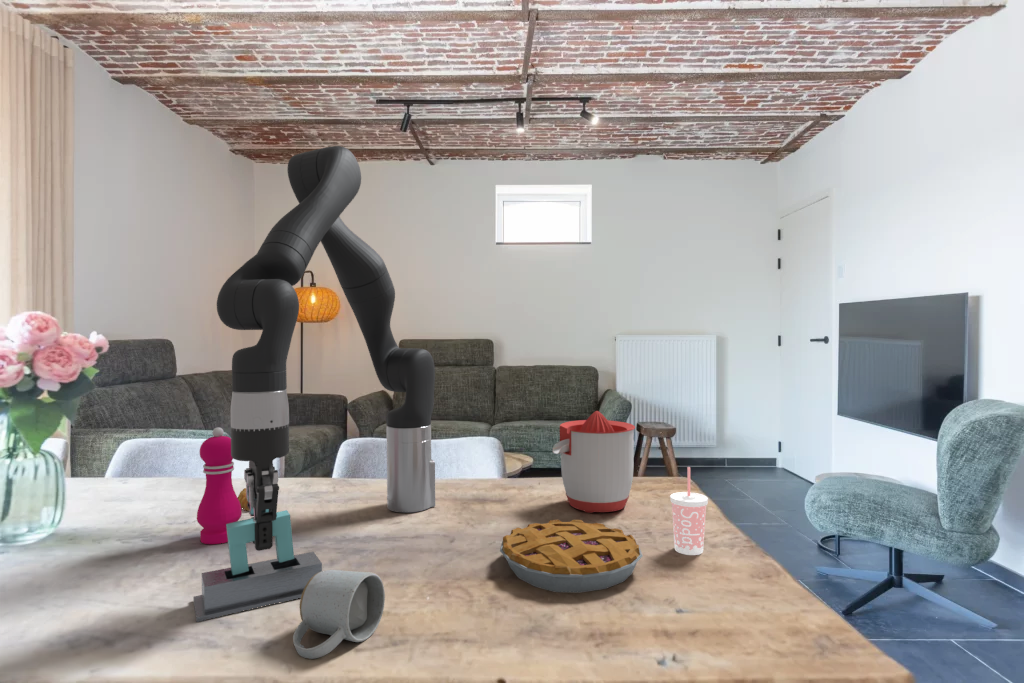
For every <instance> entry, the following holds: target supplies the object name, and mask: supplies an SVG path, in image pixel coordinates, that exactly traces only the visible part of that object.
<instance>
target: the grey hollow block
mask: <svg viewBox="0 0 1024 683" xmlns="http://www.w3.org/2000/svg"><path fill="white" fill-rule="evenodd" d="M248 568H249V571H247V572H243V573H240V574H236V575H233V574H232V571H231V567H227V568H226V567H225V568H222V569H216V570H211V571H206V572H201V594H200V595H194V596H192V597H193V599H192V600H193V606H194V607H193V608H194V613H195V615H194V616H195V621H196V623H199V622H200V623H201V622H204V621H207V620H206V619H209V620H211V619H210V618H213V619H216V618H215V617H217V618H220V617H219V616H222V615H226V616H228V615H227V614H231V613H235V614H237V613H236V612H239V613H241V612H240V611H243V610H248V611H250V610H249V609H252V608H257V607H261V606H265V605H269V604H274V603H279V602H283V603H285V602H284V601H288V602H290V601H289V600H292V601H294V600H293V599H296V600H299V599H298V598H301V596H302V593H303V590H304V588H305V586H306V584H307V583H308V581H309V580H310V579H311V578H312V577H313V576H314V575H315V574H317V573H319V572H321V571H323V562H322V561H321V560H320V559H319V557H318V556H317V554H316V553H315V552H314V551H309V552H305V553H299V554H294V559H291V560H288V561H284V562H280V563H279V561H278V559H277V558H274V559H268V560H262V561H258V562H257V561H256V562H253V563H248ZM279 604H280V603H279ZM274 605H275V604H274ZM261 608H262V607H261ZM257 609H258V608H257ZM252 610H253V609H252ZM231 615H232V614H231ZM222 617H223V616H222ZM203 620H204V621H203Z"/></svg>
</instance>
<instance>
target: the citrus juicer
mask: <svg viewBox="0 0 1024 683" xmlns="http://www.w3.org/2000/svg"><path fill="white" fill-rule="evenodd" d="M635 429H636V426H635V425H633V424H632V423H630V422H623V421H617V420H608V419H607V417H605V415H604V414H602V412H600V411H599V410H596V411H594V412H593V413H591V415H589V417H587V419H580V420H571V421H570V420H569V421H566V422H563V423H560V425H559V441H557V442H556V443H555V444H553V446H552V453H553V454H554V455H559V454H560V467H561V468H560V470H561V478H562V484H563V487H564V491H565V496H566V498H567V501H568V504H569V505H570V506H571V507H572V508H575V509H576V510H579V511H583V512H584V513H586V514H587V513H588V514H592V513H609V512H617V511H621V510H623V509H624V508H625V507H626V504H627V503H628V500H629V498H630V493H631V489H632V485H633V479H634V466H635V465H634V464H635V463H634V449H635V448H634V446H635V445H634V444H635V443H634V442H635V441H634V436H635V435H634V433H635V432H634V430H635Z"/></svg>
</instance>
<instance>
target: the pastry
mask: <svg viewBox="0 0 1024 683" xmlns="http://www.w3.org/2000/svg"><path fill="white" fill-rule="evenodd" d="M237 498H238V500H239V502H240V505H241V509H242V508H243V509H242V510H244V509H245V510H244V511H246V510H247V511H246V512H249V511H250V509H249V508H248V506H247V503H248V500H247V498H246V487H245V488H242V490H240V492H239V494H238V495H237Z"/></svg>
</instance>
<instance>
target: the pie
mask: <svg viewBox="0 0 1024 683" xmlns="http://www.w3.org/2000/svg"><path fill="white" fill-rule="evenodd" d="M499 552H500V553H501V555H502V556H503V557H504V559H506V562H507V563H508V566H509V568H510V569H511V570H512V572H513V573H514V575H515V576H516V577H517V579H520V580H521V581H523V582H525V583H528V585H531V586H533V587H534V588H539V589H542V590H545V591H550V592H554V593H575V594H576V593H585V592H593V591H600V590H605V589H609V588H611V587H613V586H616V585H618V584H622V583H623V582H625V581H626V580H627V579H628V578H629V577H631V575H632V574H633V573H634V570H635V568H636V565H637V564H638V562H639V560H641V558H643V553H642V550H641V547H640V545H639V544H638V543H637V540H636V539H635V538H634V536H633V535H632V534H628V535H626V534H624V531H623V530H622V529H620V528H609V527H606V526H605V524H604V523H601V522H600V523H599V522H594V523H593V522H592V523H589V522H585V521H583V520H582V519H571V521H561V520H560V519H551V520H549V521H548V522H546V523H536V522H535V523H529V524H527V525H526V527H524V528H520V527H516V528H513V529H511V531H510V534H506V535H504V536H503V537H502V541H501V545H500V549H499Z"/></svg>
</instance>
